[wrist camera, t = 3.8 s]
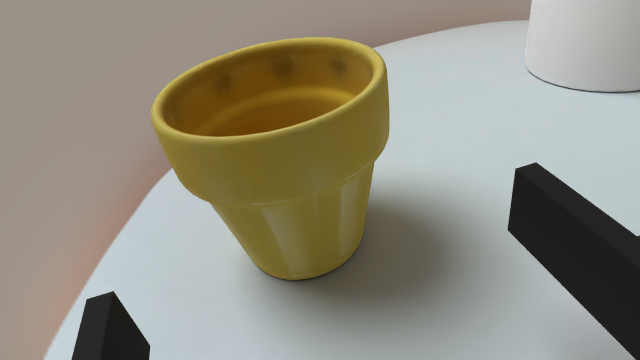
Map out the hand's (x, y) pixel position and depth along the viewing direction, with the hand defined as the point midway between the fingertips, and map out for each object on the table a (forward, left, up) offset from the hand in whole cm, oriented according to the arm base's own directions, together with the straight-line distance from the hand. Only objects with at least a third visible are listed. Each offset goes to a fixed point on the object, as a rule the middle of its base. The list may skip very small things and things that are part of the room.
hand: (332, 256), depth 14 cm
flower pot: (+1, +8, -7) cm, 11 cm away
